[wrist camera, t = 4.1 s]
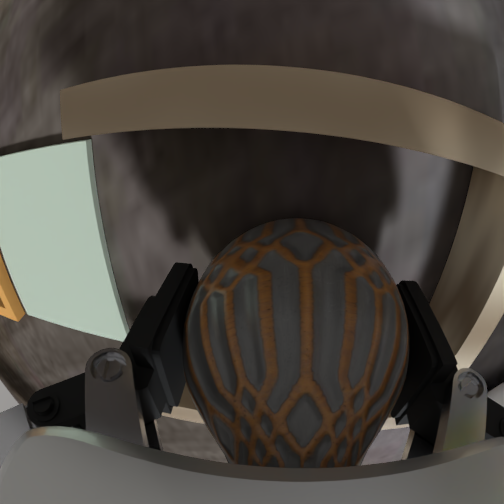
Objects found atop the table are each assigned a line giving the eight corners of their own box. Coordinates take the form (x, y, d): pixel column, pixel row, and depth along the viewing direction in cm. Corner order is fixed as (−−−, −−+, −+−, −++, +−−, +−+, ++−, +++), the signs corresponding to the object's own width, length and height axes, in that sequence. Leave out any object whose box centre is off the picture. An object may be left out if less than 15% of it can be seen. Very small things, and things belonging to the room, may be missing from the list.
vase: (393, 296, 12) (452, 478, 5) (264, 348, 14) (246, 516, 7) (333, 159, 10) (468, 370, 2) (179, 244, 12) (71, 440, 4)
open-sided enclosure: (408, 379, 15) (420, 424, 12) (161, 364, 16) (143, 410, 13) (503, 133, 8) (558, 154, 5) (119, 86, 9) (59, 90, 6)
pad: (131, 338, 15) (129, 342, 15) (30, 311, 16) (27, 314, 16) (91, 139, 10) (85, 140, 9) (-16, 160, 10) (-20, 162, 10)
